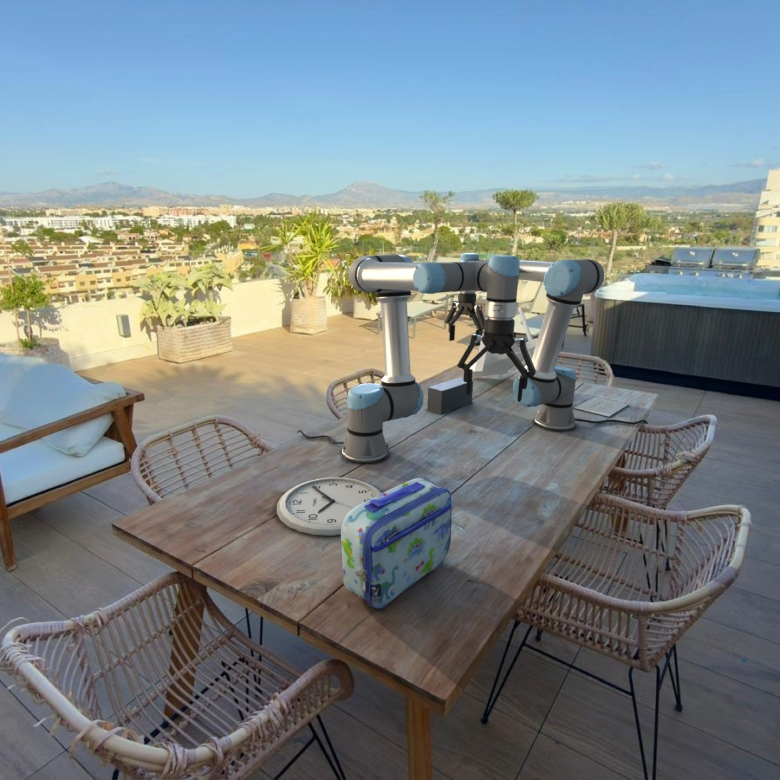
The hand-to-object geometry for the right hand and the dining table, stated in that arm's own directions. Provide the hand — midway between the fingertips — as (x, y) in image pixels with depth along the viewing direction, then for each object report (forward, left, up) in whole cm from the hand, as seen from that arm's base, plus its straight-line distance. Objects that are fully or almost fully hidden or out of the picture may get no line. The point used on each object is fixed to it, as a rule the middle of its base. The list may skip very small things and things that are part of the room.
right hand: (464, 343), depth 221 cm
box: (+5, +6, -26) cm, 28 cm away
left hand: (-6, +84, +4) cm, 84 cm away
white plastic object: (-22, -32, -26) cm, 47 cm away
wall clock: (+36, +95, -26) cm, 105 cm away
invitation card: (-60, -4, -26) cm, 66 cm away
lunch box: (+15, +124, -26) cm, 128 cm away
